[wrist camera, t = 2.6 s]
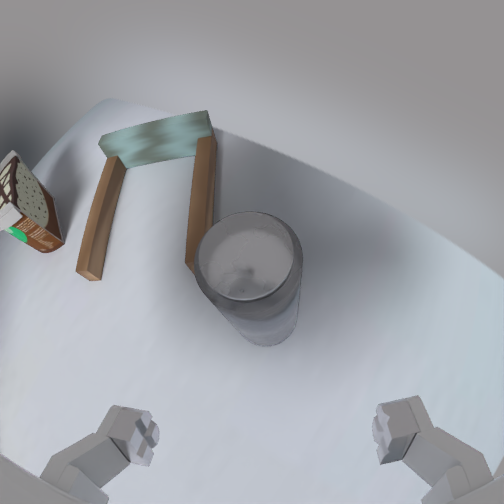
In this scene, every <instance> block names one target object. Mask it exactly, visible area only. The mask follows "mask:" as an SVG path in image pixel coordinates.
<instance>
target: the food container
mask: <svg viewBox="0 0 504 504" xmlns="http://www.w3.org/2000/svg"><path fill="white" fill-rule="evenodd" d="M2 230H5V231H7V232H8V233H10V234H11V235H13V236H15V237H16V238H18V239H19V240H21V241H23V242H24V243H26V244H28V245H29V246H31V247H33V248H35V249H36V250H38V251H40V252H42V253H49V252H52V251H55V250H57V249H58V248H60V247H61V246H62V245H64V244H65V243H64V239H63V235H62V231H61V227H60V223H59V218H58V214H57V209H56V204H55V199H54V197H53V196H52V195H51V194H50V193H49V192H48V190H47V189H46V188H45V187H44V186H43V185H42V184H41V182H40V181H39V180H38V179H37V178H36V177H35V176H34V174H33V173H32V172H31V171H30V170H29V169H28V167H27V166H26V165H25V164H24V162H23V161H22V160H21V156H20V155H19V154H18V153H16V152H15V151H14V150H12V151H11V152H10V153H9V154H8V155H7V156H6V158H5V159H4V160H3V161H2V162H1V164H0V231H2Z"/></svg>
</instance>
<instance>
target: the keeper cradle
mask: <svg viewBox="0 0 504 504" xmlns="http://www.w3.org/2000/svg"><path fill="white" fill-rule="evenodd" d="M98 145H99V146H100V148H101V149H102V151H103V152H104V154H105V155H106V157H107V161H106V164H105V166H104V169H103V172H102V175H101V178H100V181H99V184H98V187H97V190H96V193H95V196H94V199H93V203H92V206H91V209H90V213H89V217H88V220H87V224H86V228H85V231H84V235H83V239H82V244H81V248H80V252H79V257H78V261H77V266H76V272H77V273H79V274H80V275H82V276H83V277H85V278H86V279H88V280H89V281H98V280H101V277H102V271H103V265H104V259H105V254H106V249H107V244H108V239H109V234H110V230H111V225H112V221H113V217H114V212H115V208H116V204H117V201H118V197H119V193H120V189H121V186H122V182H123V179H124V175H125V172H126V169H127V168H132V167H136V166H141V165H146V164H150V163H155V162H160V161H166V160H171V159H176V158H182V157H188V156H194V155H196V156H195V163H194V172H193V180H192V189H191V198H190V208H189V218H188V230H187V242H186V255H185V264H186V265H187V266H188V267H189V269H190V270H191V271H192V272H193V274H194V275H195V272H194V257H195V253H196V249H197V247H198V244H199V242H200V241H201V239H202V237H203V236H204V235H205V233H206V232H207V231H208V230H209V229H210V228H211V227H212V226H213V203H214V184H215V166H216V151H217V142H216V138H215V135H214V131H213V128H212V125H211V121H210V118H209V115H208V111H207V110H205V111H199V112H194V113H189V114H184V115H179V116H174V117H169V118H165V119H161V120H156V121H152V122H148V123H144V124H140V125H137V126H133V127H129V128H126V129H122V130H119V131H115V132H112V133H109V134H105V135H102V137H101V139H100V141H99V143H98Z"/></svg>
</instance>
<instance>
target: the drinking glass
mask: <svg viewBox="0 0 504 504" xmlns="http://www.w3.org/2000/svg"><path fill="white" fill-rule="evenodd" d="M302 263H303V255H302V249H301V245H300V242H299V240H298V238H297V236H296V234H295V233H294V232H293V230H292V229H291V228H290V227H289V226H288V225H287V224H286V223H284V222H283V221H282V220H280V219H278V218H276V217H274V216H272V215H269V214H266V213H261V212H241V213H236V214H232V215H230V216H227V217H225V218H223V219H222V220H220V221H219V222H217V223H216V224H214V225H213V226H212V227H211V228H210V229H209V230H208V231H207V232H206V233H205V235H204V236H203V237H202V239H201V241H200V242H199V244H198V247H197V249H196V253H195V257H194V272H195V277H196V280H197V283H198V285H199V287H200V288H201V290H202V291H203V293H204V294H205V295H206V296H207V297H208V299H209V300H210V301H211V302H212V303H213V304H214V305H215V306H216V307H217V309H218V310H219V311H220V312H221V313H222V314H223V315H224V316H225V317H226V318H227V319H228V321H229V322H230V323H231V324H232V325H233V326H234V327H235V328H236V329H237V330H238V331H239V332H240V333H241V334H242V336H243V337H244V338H245V339H247V340H248V341H249V342H251V343H253V344H255V345H259V346H272V345H276V344H279V343H281V342H282V341H284V340H285V339H287V338H288V337H289V336H290V334H291V333H292V331H293V330H294V327H295V325H296V320H297V312H298V303H299V293H300V284H301V273H302Z"/></svg>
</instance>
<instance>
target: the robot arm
mask: <svg viewBox="0 0 504 504" xmlns="http://www.w3.org/2000/svg"><path fill="white" fill-rule="evenodd" d="M376 413H377V416H376V417H374V419H373V424H372V432H373V438H374V441H375V442H376V443H378V444H379V446H378V448H377V454H378V458H379V462H380V465H381V464H386V463H391V462H395V461H399V460H402V461H403V462H404V463H405V464H406V465H407V466H408V467H409V468H411V469H412V470H413V471H414V472H415V473H416V474H417V475H419V476H420V477H421V478H422V479H423V480H424V481H425V482H427V483H428V484H429V485H430V486H431V487H432V488H431V489H430V490H429V491H428V492H427V494H426V495H425V496H424V497H423V498H422V504H504V474H503V475H501V476H500V477H498V478H496V479H493V477H492V474H491V472H490V470H489V467H488V465H487V463H486V460H485V458H484V456H483V454H482V453H481V452H479V451H478V450H476V449H474V448H472V447H471V446H469V445H467V444H465V443H464V442H462V441H460V440H459V439H457V438H455V437H454V436H452V435H450V434H449V433H447V432H445V431H444V430H442V429H440V428H439V427H435V428H434V426H433V424H432V422H431V420H430V418H429V415H428V413H427V411H426V409H425V407H424V404H423V402H422V400H421V398H420V397H419V396H418V395H416V396H412V397H409V398H405V399H404V398H403V399H399V400H395V401H390V402H386V403H381V404H378V406H377V409H376ZM151 419H152V415H151V414H150V412H149V411H145V410H139V409H133V408H128V407H123V406H117V405H113V406H112V407H111V408H110V409H109V411H108V413H107V414H106V416H105V418H104V420H103V421H102V423H101V425H100V427H99V428H98V430H97V432H96V434H95V433H92V434H90V435H88V436H87V437H85V438H83V439H82V440H80V441H78V442H76V443H75V444H73V445H71V446H69V447H68V448H66V449H64V450H62V451H60V452H59V453H57V454H55V455H53V456H52V457H51V459H50V460H49V462H48V464H47V466H46V467H45V469H44V471H43V472H42V474H41V476H40V478H39V477H37V476H35V475H34V474H32V473H30V472H29V471H27V470H25V469H24V468H22V467H20V466H19V465H17V464H16V463H14V462H13V461H11V460H10V459H8V458H7V457H5V456H4V455H3V454H1V453H0V504H107V503H108V500H109V497H108V495H107V494H106V493H104V492H103V491H102V490H101V489H100V488H102V487H103V486H104V485H105V484H107V483H108V482H109V481H110V480H111V479H113V478H114V477H115V476H116V475H118V474H119V473H120V472H121V471H122V470H124V469H125V468H126V467H127V466H128V465H129V464H130V463H133V464H138V465H143V466H149V465H150V463H151V460H152V457H153V455H154V453H153V451H152V448H154V447H155V446H156V445H157V444H158V441H159V428H158V426H157V424H156V423H155V422H153V421H152V420H151Z"/></svg>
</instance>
